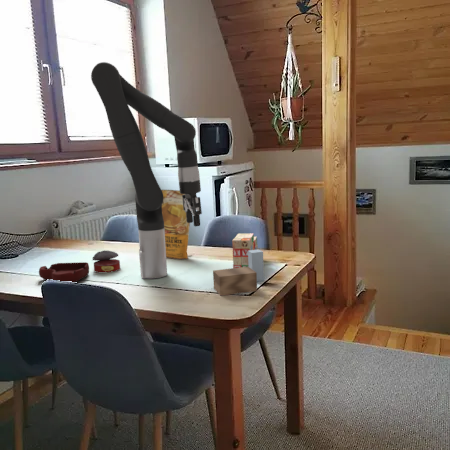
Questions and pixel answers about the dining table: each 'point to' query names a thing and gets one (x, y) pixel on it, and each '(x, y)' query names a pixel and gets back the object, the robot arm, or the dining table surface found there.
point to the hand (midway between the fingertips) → (193, 224)
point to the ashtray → (65, 271)
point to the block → (256, 263)
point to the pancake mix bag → (175, 225)
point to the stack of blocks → (243, 249)
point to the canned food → (106, 261)
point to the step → (235, 280)
